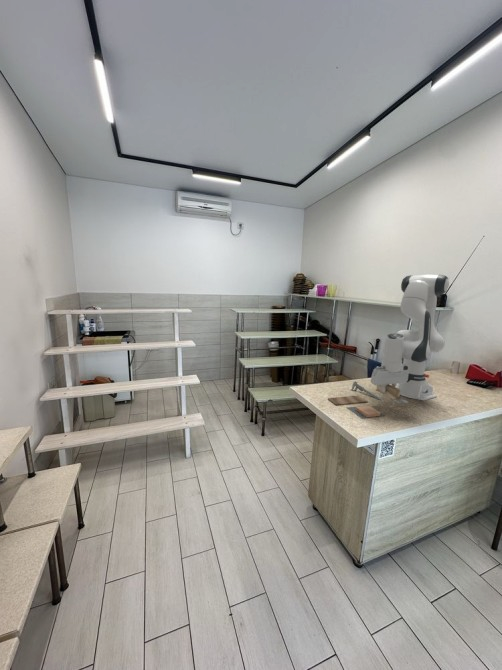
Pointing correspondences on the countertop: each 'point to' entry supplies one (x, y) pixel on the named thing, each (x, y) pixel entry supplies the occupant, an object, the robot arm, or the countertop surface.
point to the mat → (360, 413)
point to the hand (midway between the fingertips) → (387, 391)
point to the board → (347, 400)
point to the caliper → (364, 390)
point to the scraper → (392, 393)
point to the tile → (368, 411)
